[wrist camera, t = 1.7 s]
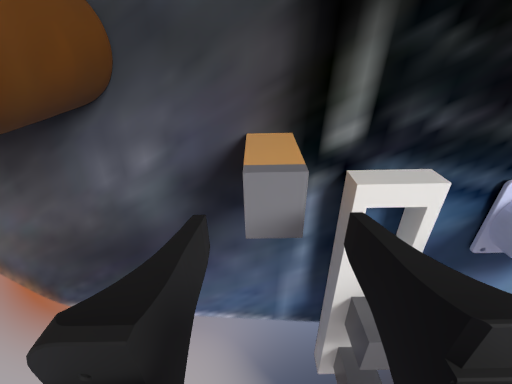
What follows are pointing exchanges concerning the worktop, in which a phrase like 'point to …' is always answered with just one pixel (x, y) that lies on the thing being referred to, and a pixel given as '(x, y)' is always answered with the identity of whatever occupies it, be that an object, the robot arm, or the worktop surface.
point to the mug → (49, 59)
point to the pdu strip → (345, 282)
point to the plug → (274, 186)
